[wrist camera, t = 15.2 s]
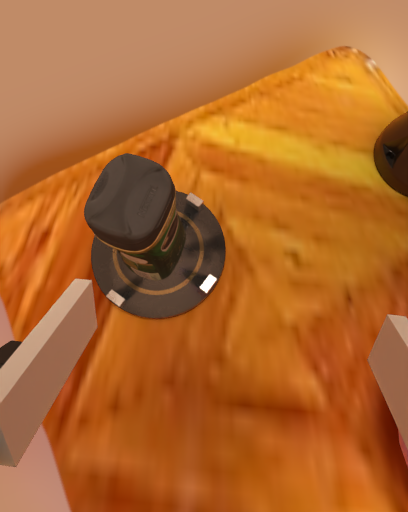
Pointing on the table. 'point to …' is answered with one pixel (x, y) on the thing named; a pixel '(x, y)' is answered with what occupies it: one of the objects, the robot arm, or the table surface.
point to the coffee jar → (137, 215)
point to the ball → (403, 448)
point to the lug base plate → (183, 276)
